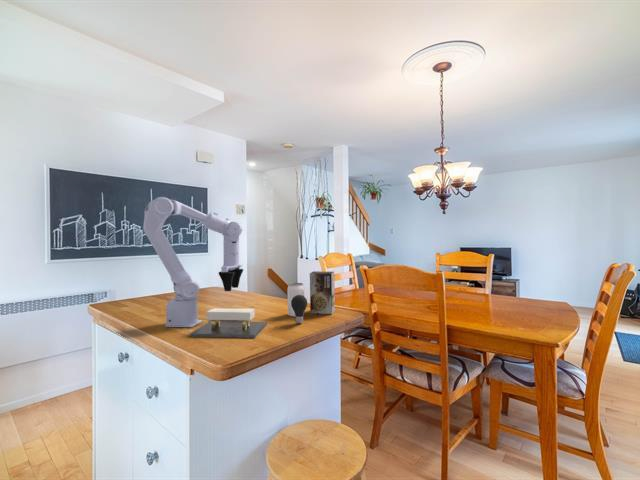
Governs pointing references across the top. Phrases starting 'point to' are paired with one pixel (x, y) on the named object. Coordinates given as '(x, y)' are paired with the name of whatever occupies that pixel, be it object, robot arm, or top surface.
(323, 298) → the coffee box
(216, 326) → the plate
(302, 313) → the light bulb
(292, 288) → the can
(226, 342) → the top surface
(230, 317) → the board
